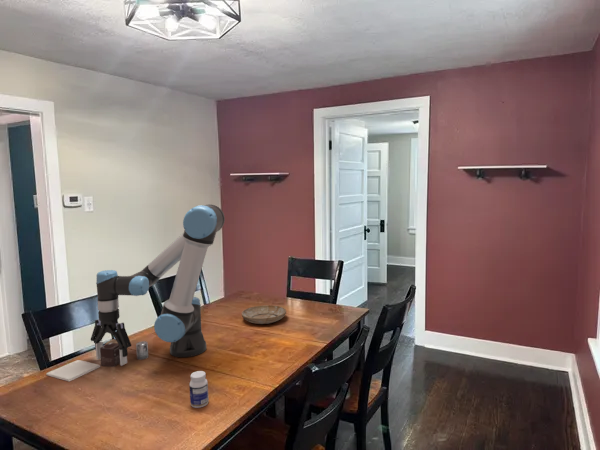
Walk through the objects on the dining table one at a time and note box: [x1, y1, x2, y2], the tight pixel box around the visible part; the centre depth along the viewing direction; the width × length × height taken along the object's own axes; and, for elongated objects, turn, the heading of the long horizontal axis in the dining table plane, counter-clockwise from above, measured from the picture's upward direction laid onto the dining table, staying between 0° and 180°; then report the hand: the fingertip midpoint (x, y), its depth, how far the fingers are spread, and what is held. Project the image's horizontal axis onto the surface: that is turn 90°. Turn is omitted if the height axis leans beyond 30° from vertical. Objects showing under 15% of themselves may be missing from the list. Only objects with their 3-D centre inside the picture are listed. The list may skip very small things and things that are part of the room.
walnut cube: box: [104, 338, 124, 346], centre depth 175 cm, size 5×5×5 cm
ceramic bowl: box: [241, 304, 287, 325], centre depth 213 cm, size 23×24×5 cm
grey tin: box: [135, 340, 149, 361], centre depth 169 cm, size 4×4×6 cm
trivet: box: [46, 359, 101, 382], centre depth 158 cm, size 13×13×1 cm
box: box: [100, 343, 121, 367], centre depth 164 cm, size 6×6×7 cm
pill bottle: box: [188, 370, 210, 409], centre depth 131 cm, size 6×6×10 cm
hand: (111, 361), depth 164 cm, fingers open, 13 cm apart
